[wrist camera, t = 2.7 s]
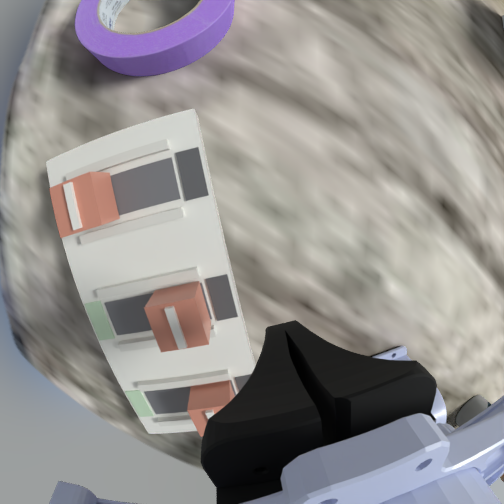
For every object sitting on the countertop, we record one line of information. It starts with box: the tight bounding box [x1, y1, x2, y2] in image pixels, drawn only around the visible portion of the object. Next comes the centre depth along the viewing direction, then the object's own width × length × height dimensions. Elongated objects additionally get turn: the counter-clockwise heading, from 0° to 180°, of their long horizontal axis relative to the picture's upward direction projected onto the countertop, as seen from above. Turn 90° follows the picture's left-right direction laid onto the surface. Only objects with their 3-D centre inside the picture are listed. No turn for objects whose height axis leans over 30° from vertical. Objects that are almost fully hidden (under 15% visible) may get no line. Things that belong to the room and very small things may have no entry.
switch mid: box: [144, 281, 211, 352], centre depth 17 cm, size 3×3×3 cm
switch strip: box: [46, 109, 256, 434], centre depth 19 cm, size 11×24×3 cm, turn 12°
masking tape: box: [75, 0, 234, 76], centre depth 14 cm, size 12×12×4 cm
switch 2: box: [187, 380, 235, 437], centre depth 19 cm, size 3×3×3 cm
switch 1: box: [49, 172, 120, 238], centre depth 15 cm, size 3×3×3 cm
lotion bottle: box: [456, 395, 504, 482], centre depth 19 cm, size 6×6×20 cm
